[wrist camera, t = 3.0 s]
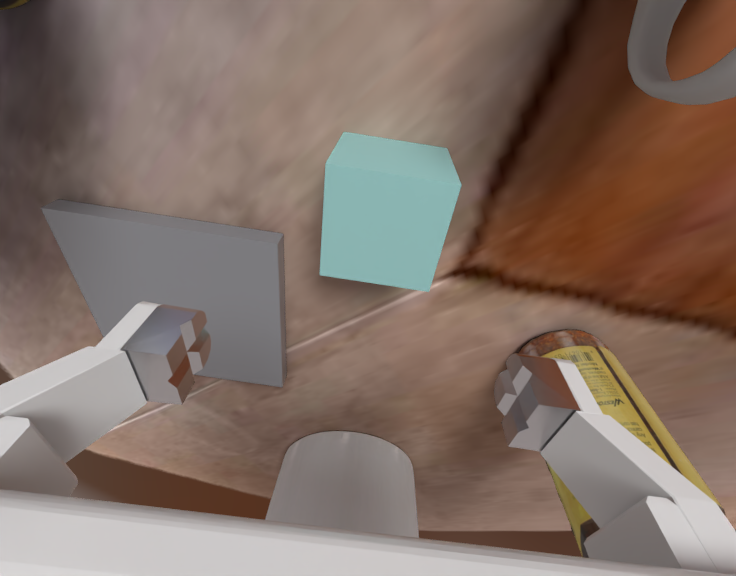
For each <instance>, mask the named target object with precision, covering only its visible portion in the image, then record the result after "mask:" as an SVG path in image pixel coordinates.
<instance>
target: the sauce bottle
mask: <svg viewBox="0 0 736 576" xmlns="http://www.w3.org/2000/svg"><path fill="white" fill-rule="evenodd" d="M518 354H524V355H532V356H540V357H547V358H556V359H564V360H570V361H572V362H573V363H574V364H575V365H576V367H577V369H578V370H579V372H580V374H581V376H582V378H583V379H584V381H585V383H586V385H587V386H588V388H589V390H590V392H591V393H592V395H593V397H594V399H595V401H596V402H597V404H598V406H599V408H600V409H601V411H602V413H603V414H604V415H610V416H611V417H612V418H613V419H614V420H616V421H617V422H618V423H619V424H621V425H622V426H623V427H624V428H625V429H627V430H628V431H629V432H630V433H632V434H633V435H634V436H635V437H636V438H638V439H639V440H640V441H641V442H642V443H644V444H645V445H646V446H647V447H649V448H650V449H651V450H652V451H653V452H655V453H656V454H657V455H658V456H660V457H661V458H662V459H663V460H664V461H666V462H667V463H668V464H669V465H670V466H672V467H673V468H674V469H675V470H677V471H678V472H679V473H680V474H681V475H683V476H684V477H685V478H686V479H688V480H689V481H690V482H691V483H692V484H694V485H695V486H696V487H697V488H698V489H700V490H701V491H702V492H703V493H705V494H706V495H707V496H708V497H709V498H711V499H712V500H713V501H714V502H716V504H717V505H718V506H719V508H720V509H721V511H722V512H723V514H724V515H725V511H724V509H723V508H722V506H721V505H720V503H719V502H718V501H717V499H716V498H715V496H714V495H713V494H712V492H711V491H710V489H709V488H708V486H707V485H706V484H705V482H704V481H703V479H702V478H701V477H700V475H699V474H698V472H697V471H696V470H695V468H694V467H693V465H692V464H691V463H690V461H689V460H688V458H687V457H686V456H685V454H684V453H683V451H682V450H681V449H680V447H679V446H678V444H677V443H676V442H675V440H674V439H673V437H672V436H671V435H670V433H669V432H668V430H667V429H666V427H665V426H664V425H663V423H662V422H661V420H660V419H659V418H658V416H657V415H656V413H655V412H654V410H653V409H652V408H651V406H650V405H649V403H648V402H647V400H646V399H645V398H644V396H643V395H642V393H641V392H640V391H639V389H638V388H637V386H636V385H635V384H634V382H633V381H632V379H631V378H630V377H629V375H628V374H627V372H626V371H625V369H624V368H623V367H622V365H621V364H620V362H619V361H618V360H617V358H616V357H615V355H614V354H613V353H612V352H610V351H609V349H608V347H607V346H605V345H604V344H603V343H602V342H601V341H600V340H599V339H598V338H596V337H594V336H593V335H591V334H588V333H586V332H584V331H581V330H568V329H566V330H560V331H553V332H548V333H546V334H543V335H540V336H539V337H537V338H535V339H532V340H531V341H529V342H528V343H527V344H526V345H525V346H524V347H523V348H522V349H521V351H520V352H519V353H518ZM545 461H546V460H545ZM546 464H547V466H548V469H549V471H550V473H551V475H552V477H553V480H554V483H555V486H556V490H557V492H558V495H559V497H560V500H561V502H562V504H563V507H564V509H565V512H566V514H567V517H568V520H569V522H570V525H571V529H572V532H573V534H574V536H575V539H576V542H577V544H578V546H579V549H580V552H581V554H582V557H585V558H589V556H588V554H587V551H586V548H585V545H584V542H585V540H586V539H587V537H589V536H590V535H592V534H593V533H595V532H596V531H598V530H599V529H600V528H599V526H598V525H597V524H596V523H595V521H594V520H593V519H592V518H591V516H590V515H589V514H588V513H587V511H586V510H585V509H584V508H583V506H582V505H581V504H580V503H579V501H578V500H577V499H576V498H575V496H574V495H573V494H572V493H571V491H570V490H569V489H568V488H567V486H566V485H565V484H564V483H563V481H562V480H561V479H560V478H559V476H558V475H557V474H556V473H555V471H554V470H553V469H552V468H551V466H550V465H549V464H548V463H547V461H546Z"/></svg>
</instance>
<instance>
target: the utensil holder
mask: <svg viewBox="0 0 736 576" xmlns="http://www.w3.org/2000/svg"><path fill="white" fill-rule="evenodd" d="M265 520H270V521H279V522H287V523H296V524H304V525H313V526H321V527H330V528H338V529H347V530H355V531H364V532H372V533H381V534H389V535H398V536H406V537H415V538H419V535H418V518H417V507H416V496H415V482H414V472H413V466H412V463H411V461H410V459H409V457H408V456H407V455H406V454H405V453H404V452H403V451H402V450H401V449H400V448H398V447H397V446H395V445H393V444H392V443H390V442H388V441H385V440H383V439H381V438H378V437H375V436H372V435H368V434H363V433H357V432H348V431H327V432H320V433H315V434H311V435H308V436H306V437H304V438H302V439H300V440H298V441H296V442H295V443H293V444H292V445H291V446H290V447H289V449H288V450H287V452H286V454H285V456H284V459H283V463H282V466H281V469H280V472H279V476H278V479H277V482H276V485H275V488H274V491H273V495H272V498H271V501H270V505H269V508H268V512H267V515H266V519H265Z"/></svg>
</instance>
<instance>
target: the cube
mask: <svg viewBox="0 0 736 576" xmlns="http://www.w3.org/2000/svg"><path fill="white" fill-rule="evenodd" d="M460 188H461V182H460V180H459V177H458V175H457V172H456V170H455V167H454V164H453V162H452V159H451V157H450V154H449V152H448V149H447V148H443V147H436V146H430V145H424V144H418V143H411V142H405V141H399V140H393V139H386V138H380V137H374V136H367V135H361V134H355V133H349V132H343V134H342V136H341V138H340V139H339V141H338V143H337V144H336V146H335V148H334V150H333V151H332V153H331V155H330V157H329V158H328V160H327V162H326V166H325V184H324V202H323V221H322V239H321V257H320V275H322V276H328V277H335V278H341V279H348V280H355V281H361V282H368V283H374V284H381V285H387V286H394V287H400V288H407V289H413V290H420V291H426V292H429V290H430V286H431V283H432V280H433V277H434V273H435V270H436V267H437V264H438V260H439V257H440V254H441V251H442V247H443V244H444V241H445V237H446V234H447V231H448V228H449V224H450V221H451V218H452V215H453V211H454V208H455V205H456V202H457V198H458V195H459V192H460Z"/></svg>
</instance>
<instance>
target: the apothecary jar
mask: <svg viewBox="0 0 736 576" xmlns="http://www.w3.org/2000/svg"><path fill="white" fill-rule="evenodd" d="M28 1H30V0H0V10H3V9H10V8H15V7H18V6H20V5H22V4H25V3H26V2H28Z"/></svg>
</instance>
